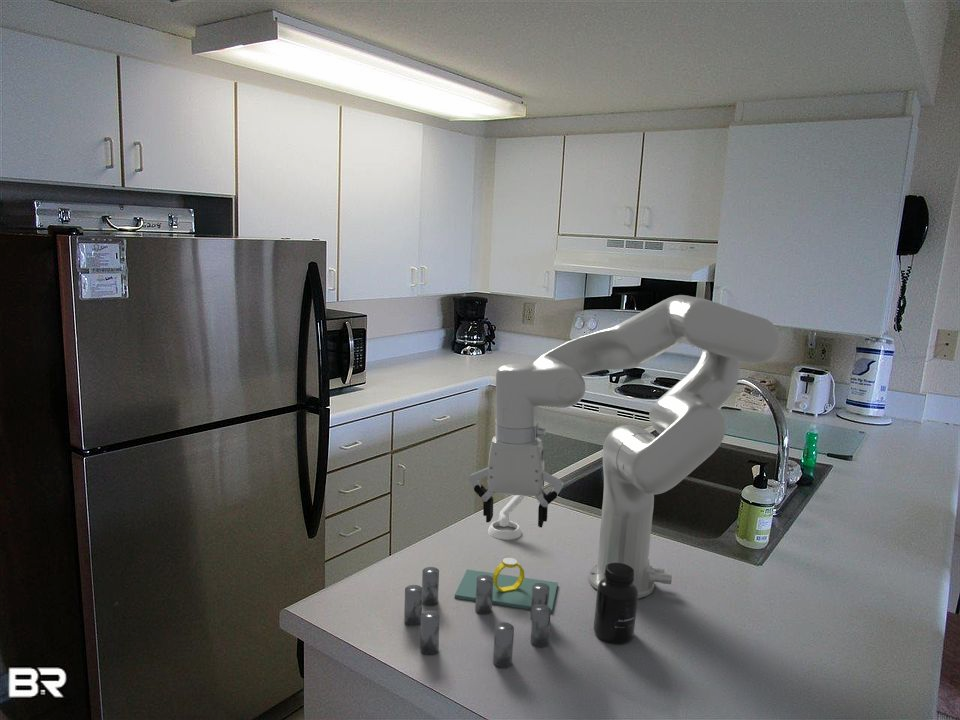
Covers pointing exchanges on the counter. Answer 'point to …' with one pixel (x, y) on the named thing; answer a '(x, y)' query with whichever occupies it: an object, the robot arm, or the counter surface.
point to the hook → (506, 521)
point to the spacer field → (482, 606)
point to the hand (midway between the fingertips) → (515, 521)
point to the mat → (510, 598)
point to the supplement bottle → (616, 604)
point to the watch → (509, 563)
